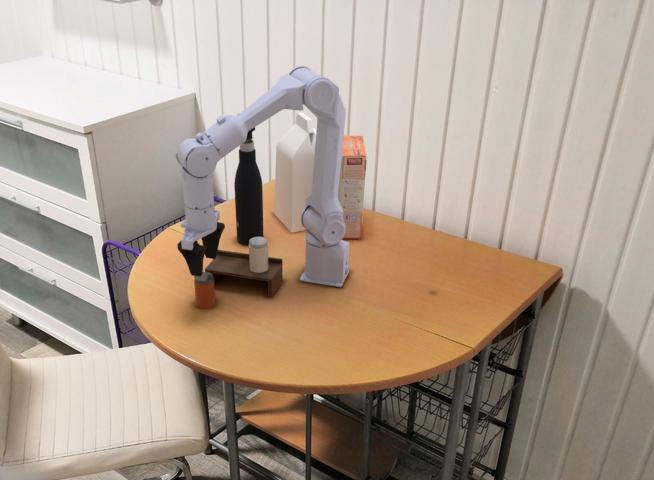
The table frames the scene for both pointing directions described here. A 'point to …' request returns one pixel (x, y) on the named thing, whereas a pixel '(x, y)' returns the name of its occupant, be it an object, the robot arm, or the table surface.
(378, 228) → the table surface
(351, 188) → the cracker box
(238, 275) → the shelf
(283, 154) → the milk
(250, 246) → the salt shaker
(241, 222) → the black water bottle
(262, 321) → the table surface
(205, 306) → the pepper shaker
